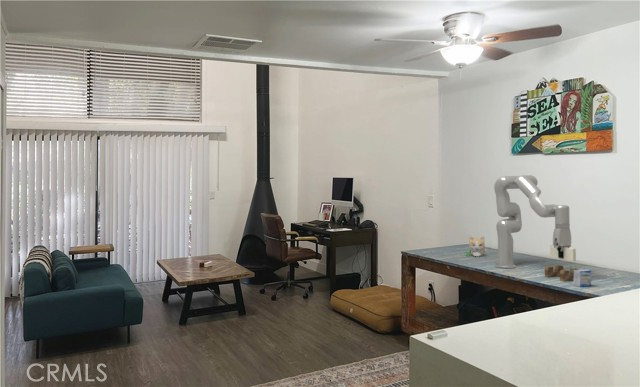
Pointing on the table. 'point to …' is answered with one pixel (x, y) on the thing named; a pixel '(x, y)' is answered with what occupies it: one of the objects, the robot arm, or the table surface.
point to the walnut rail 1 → (553, 271)
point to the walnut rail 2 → (567, 275)
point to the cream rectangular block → (564, 253)
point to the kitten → (476, 246)
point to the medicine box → (582, 278)
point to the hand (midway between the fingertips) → (562, 257)
